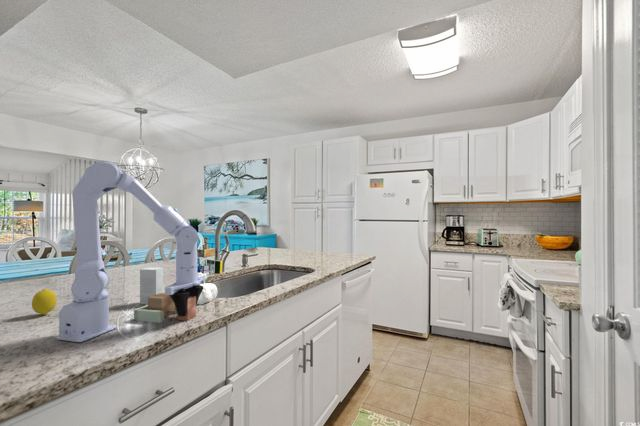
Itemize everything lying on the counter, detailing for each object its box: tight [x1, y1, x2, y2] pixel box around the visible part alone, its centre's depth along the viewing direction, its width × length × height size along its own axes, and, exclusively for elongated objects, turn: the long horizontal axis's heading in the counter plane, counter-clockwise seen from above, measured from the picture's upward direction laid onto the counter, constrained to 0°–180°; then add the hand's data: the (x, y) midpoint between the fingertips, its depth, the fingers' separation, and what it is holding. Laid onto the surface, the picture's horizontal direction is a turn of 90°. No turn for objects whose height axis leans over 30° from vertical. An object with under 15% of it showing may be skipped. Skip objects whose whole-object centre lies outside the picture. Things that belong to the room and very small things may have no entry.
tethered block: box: [147, 292, 197, 322], centre depth 86 cm, size 5×13×6 cm, turn 75°
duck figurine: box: [197, 271, 218, 305], centre depth 101 cm, size 12×8×11 cm
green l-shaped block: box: [133, 304, 177, 324], centre depth 87 cm, size 10×9×3 cm
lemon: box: [31, 288, 58, 316], centre depth 88 cm, size 6×6×8 cm
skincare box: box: [139, 267, 164, 305], centre depth 100 cm, size 6×4×12 cm
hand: (186, 313), depth 84 cm, fingers closed on tethered block, 3 cm apart
